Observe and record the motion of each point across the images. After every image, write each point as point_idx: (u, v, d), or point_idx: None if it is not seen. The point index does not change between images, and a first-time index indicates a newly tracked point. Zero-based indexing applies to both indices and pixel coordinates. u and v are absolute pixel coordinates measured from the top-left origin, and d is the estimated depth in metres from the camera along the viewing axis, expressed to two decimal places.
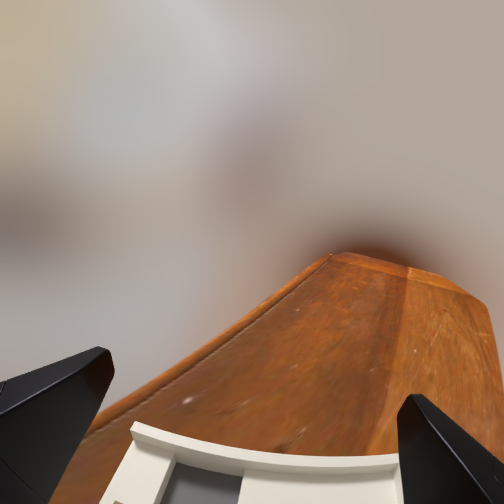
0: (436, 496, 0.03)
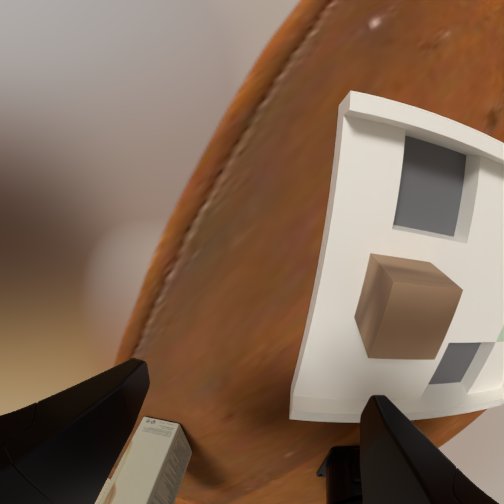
0: None
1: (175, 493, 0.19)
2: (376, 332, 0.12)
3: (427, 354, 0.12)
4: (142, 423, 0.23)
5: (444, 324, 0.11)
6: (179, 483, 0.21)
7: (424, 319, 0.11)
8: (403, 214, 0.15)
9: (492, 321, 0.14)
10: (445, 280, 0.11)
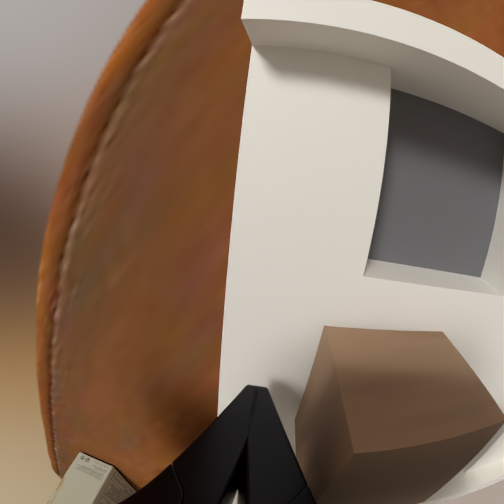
0: None
1: None
2: None
3: (412, 502, 0.04)
4: (76, 459, 0.16)
5: (454, 471, 0.04)
6: None
7: (417, 478, 0.04)
8: (393, 240, 0.08)
9: None
10: (474, 393, 0.04)
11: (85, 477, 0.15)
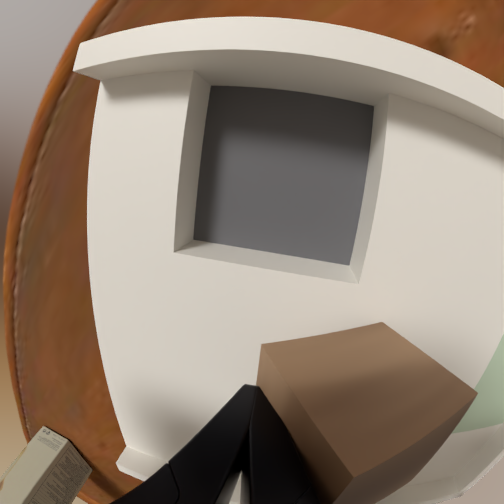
0: None
1: None
2: None
3: (401, 485, 0.05)
4: (39, 432, 0.17)
5: (436, 449, 0.05)
6: (71, 497, 0.15)
7: (407, 468, 0.04)
8: (229, 224, 0.10)
9: None
10: (438, 378, 0.05)
11: (43, 447, 0.16)
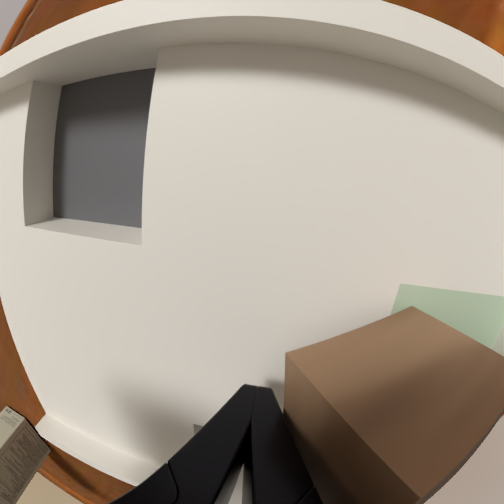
0: None
1: (24, 481, 0.13)
2: None
3: (450, 478, 0.04)
4: (2, 411, 0.17)
5: (486, 436, 0.04)
6: (30, 474, 0.15)
7: (461, 464, 0.03)
8: (72, 200, 0.09)
9: None
10: (485, 360, 0.04)
11: (4, 424, 0.15)
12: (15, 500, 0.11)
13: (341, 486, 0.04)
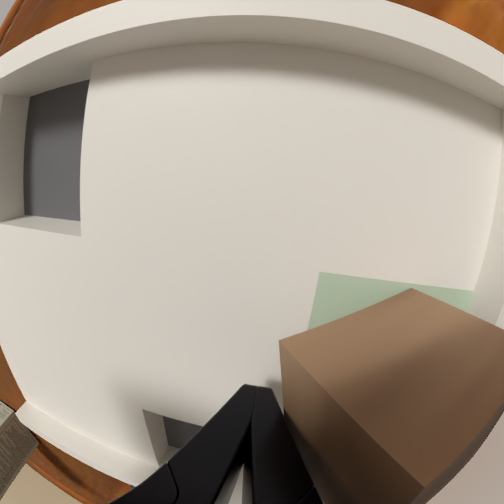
0: None
1: (12, 472, 0.13)
2: None
3: (464, 465, 0.04)
4: None
5: (498, 419, 0.03)
6: (18, 465, 0.15)
7: (473, 449, 0.03)
8: (38, 199, 0.09)
9: None
10: (490, 338, 0.04)
11: None
12: (4, 490, 0.11)
13: (344, 478, 0.04)
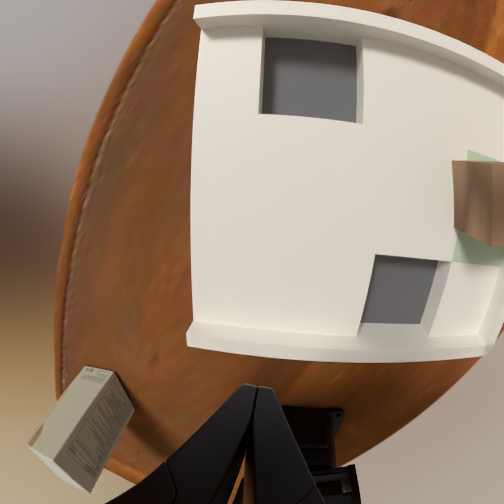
0: None
1: (108, 448, 0.19)
2: (490, 218, 0.10)
3: None
4: (82, 371, 0.23)
5: None
6: (114, 439, 0.20)
7: None
8: (284, 107, 0.15)
9: (436, 229, 0.14)
10: None
11: (88, 383, 0.21)
12: (97, 474, 0.17)
13: (477, 196, 0.11)
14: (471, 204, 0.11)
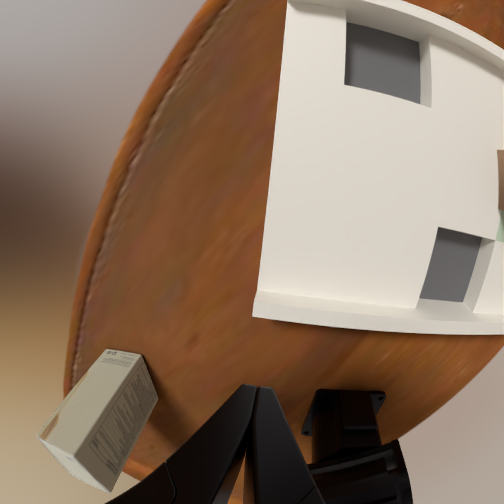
0: None
1: (131, 441, 0.18)
2: None
3: None
4: (103, 354, 0.22)
5: None
6: (138, 430, 0.20)
7: None
8: (359, 85, 0.14)
9: (485, 209, 0.13)
10: None
11: (111, 367, 0.20)
12: None
13: None
14: None
